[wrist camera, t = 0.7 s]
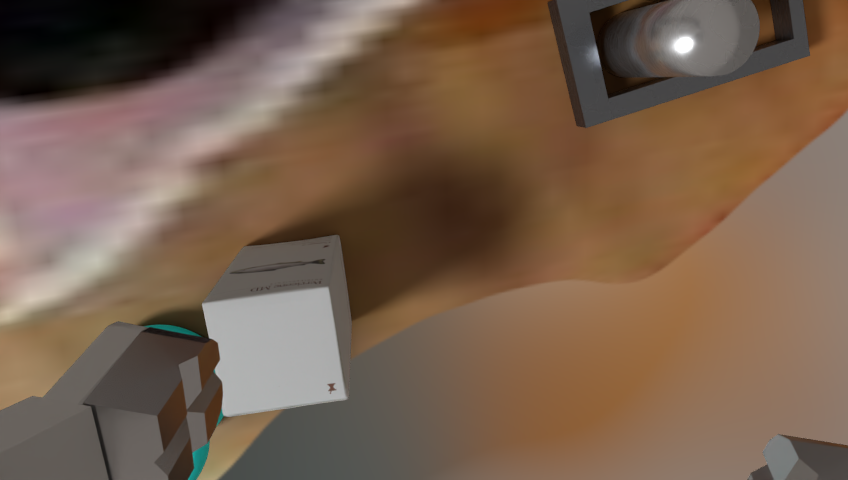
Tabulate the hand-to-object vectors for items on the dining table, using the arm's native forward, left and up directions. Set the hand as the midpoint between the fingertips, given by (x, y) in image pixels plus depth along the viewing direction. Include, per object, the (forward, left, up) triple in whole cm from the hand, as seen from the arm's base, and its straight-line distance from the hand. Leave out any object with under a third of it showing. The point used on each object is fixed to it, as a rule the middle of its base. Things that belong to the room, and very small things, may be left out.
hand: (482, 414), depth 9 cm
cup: (-2, +19, -38) cm, 42 cm away
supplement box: (+8, -9, -38) cm, 40 cm away
